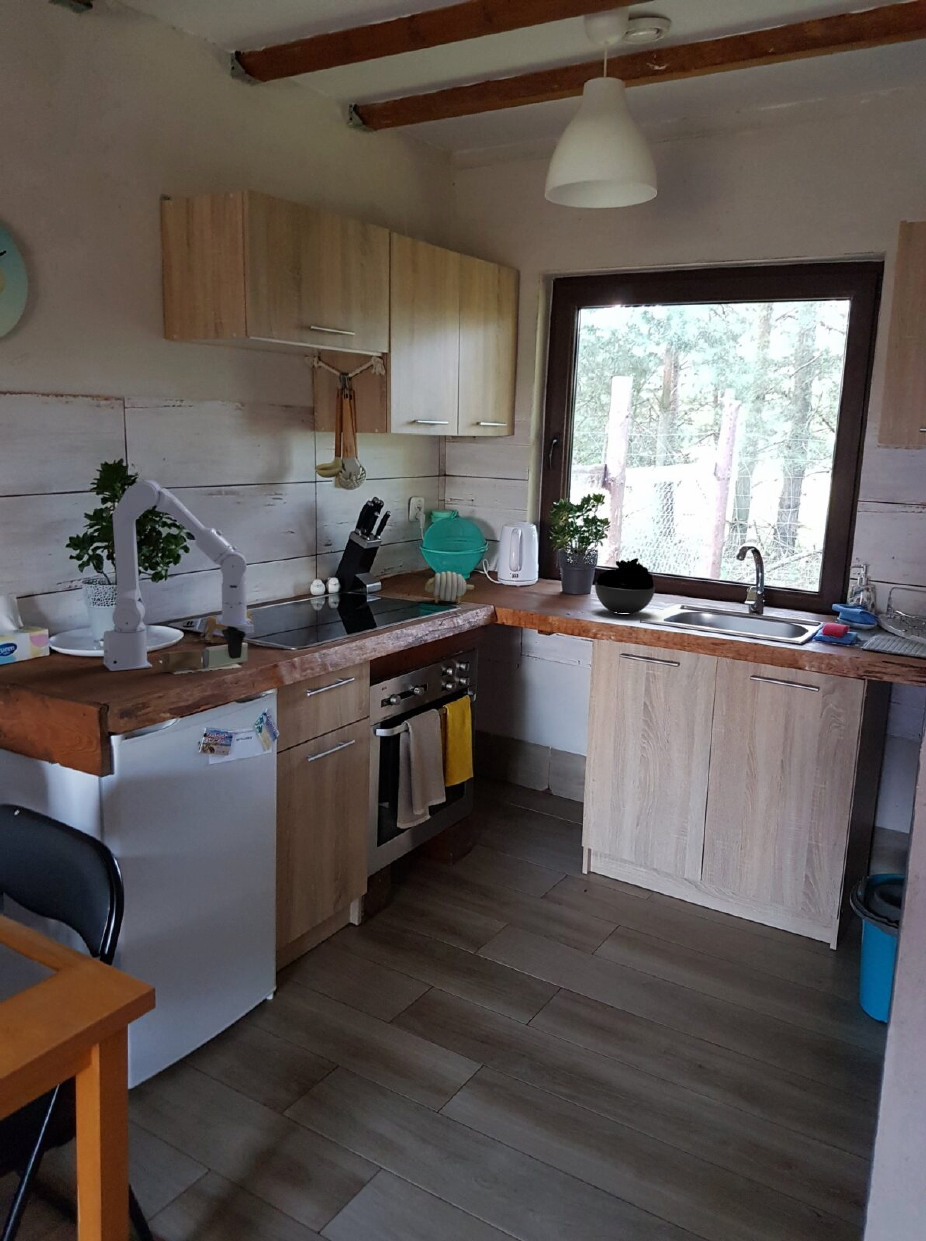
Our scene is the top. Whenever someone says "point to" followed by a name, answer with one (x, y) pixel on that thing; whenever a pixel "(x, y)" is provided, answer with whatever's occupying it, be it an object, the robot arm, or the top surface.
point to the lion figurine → (216, 627)
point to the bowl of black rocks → (625, 587)
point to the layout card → (208, 668)
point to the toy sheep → (447, 586)
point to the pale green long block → (221, 655)
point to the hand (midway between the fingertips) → (234, 657)
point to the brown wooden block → (181, 660)
